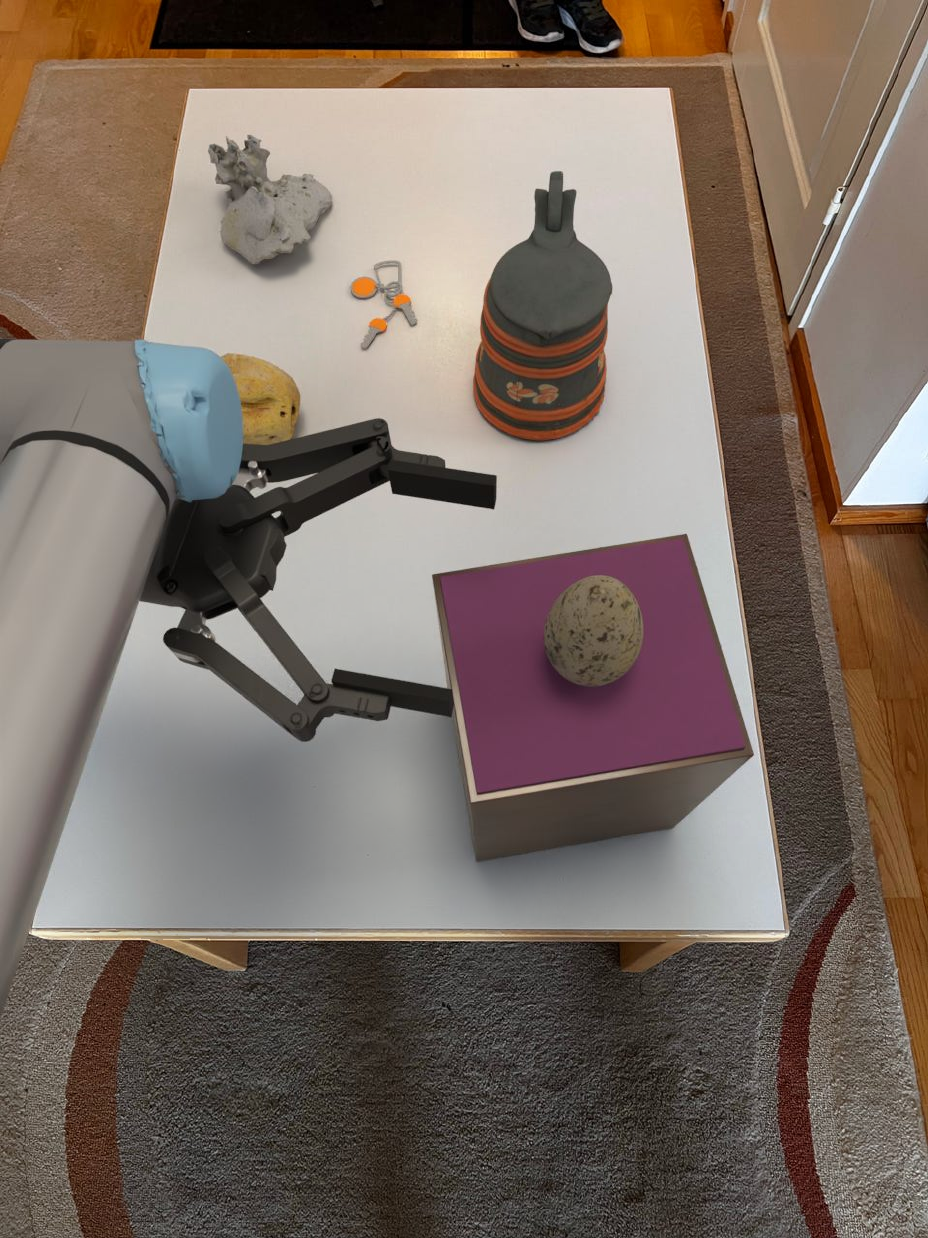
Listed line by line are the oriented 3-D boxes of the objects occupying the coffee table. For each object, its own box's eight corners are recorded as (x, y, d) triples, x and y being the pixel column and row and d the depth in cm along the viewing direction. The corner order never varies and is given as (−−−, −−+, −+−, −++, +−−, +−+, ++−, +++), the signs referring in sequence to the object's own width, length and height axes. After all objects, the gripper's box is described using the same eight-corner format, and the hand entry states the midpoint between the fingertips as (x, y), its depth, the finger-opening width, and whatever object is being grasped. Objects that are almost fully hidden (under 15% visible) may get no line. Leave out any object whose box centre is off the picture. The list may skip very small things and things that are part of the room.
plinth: (476, 862, 77) (470, 803, 54) (448, 693, 84) (431, 573, 60) (673, 828, 78) (754, 755, 54) (631, 663, 84) (687, 533, 61)
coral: (240, 197, 114) (211, 120, 106) (340, 188, 112) (317, 108, 103) (209, 280, 105) (173, 203, 97) (316, 271, 103) (289, 191, 94)
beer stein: (474, 308, 103) (470, 158, 84) (599, 306, 102) (623, 155, 84) (472, 442, 95) (468, 310, 77) (607, 442, 95) (635, 309, 76)
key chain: (348, 268, 105) (347, 262, 105) (408, 260, 106) (407, 255, 105) (357, 350, 100) (356, 345, 99) (420, 342, 100) (420, 337, 100)
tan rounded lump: (184, 468, 95) (151, 412, 86) (200, 392, 99) (170, 330, 90) (300, 471, 94) (280, 415, 85) (311, 394, 98) (293, 332, 89)
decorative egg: (586, 719, 55) (605, 665, 46) (521, 654, 57) (527, 589, 48) (651, 660, 56) (682, 596, 47) (586, 598, 58) (604, 525, 49)
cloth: (476, 794, 54) (476, 793, 53) (440, 579, 60) (439, 576, 59) (744, 748, 54) (746, 747, 54) (681, 540, 60) (683, 537, 60)
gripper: (209, 406, 61) (510, 450, 58) (80, 751, 51) (434, 819, 49) (173, 331, 54) (512, 378, 52) (16, 713, 44) (425, 790, 42)
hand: (475, 592), depth 50 cm, fingers open, 13 cm apart
